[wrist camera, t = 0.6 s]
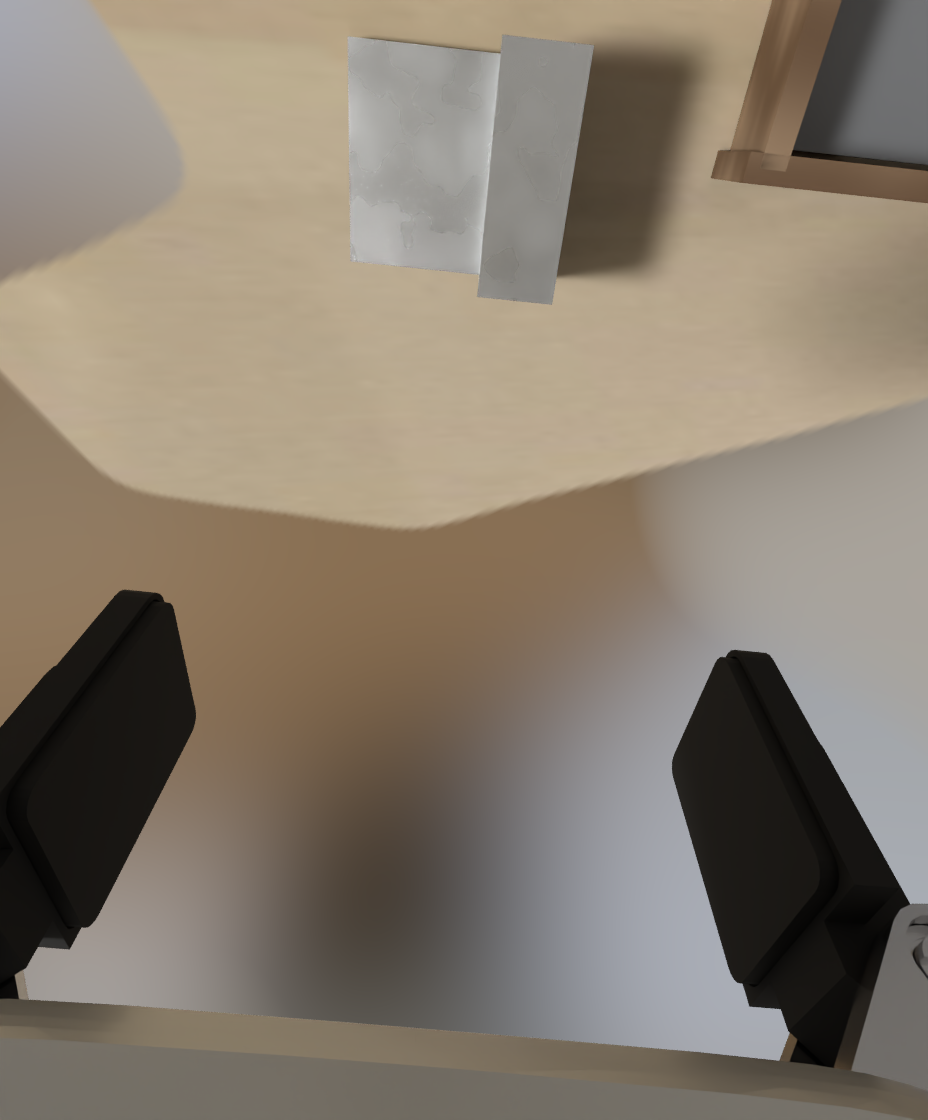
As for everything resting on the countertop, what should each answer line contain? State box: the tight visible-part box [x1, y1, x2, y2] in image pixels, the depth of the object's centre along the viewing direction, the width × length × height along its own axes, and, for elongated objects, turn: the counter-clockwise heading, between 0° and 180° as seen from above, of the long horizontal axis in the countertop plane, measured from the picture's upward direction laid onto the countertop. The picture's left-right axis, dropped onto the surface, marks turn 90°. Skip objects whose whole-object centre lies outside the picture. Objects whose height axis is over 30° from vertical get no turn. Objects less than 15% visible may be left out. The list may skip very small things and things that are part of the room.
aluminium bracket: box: [348, 35, 594, 305], centre depth 25 cm, size 8×9×6 cm
